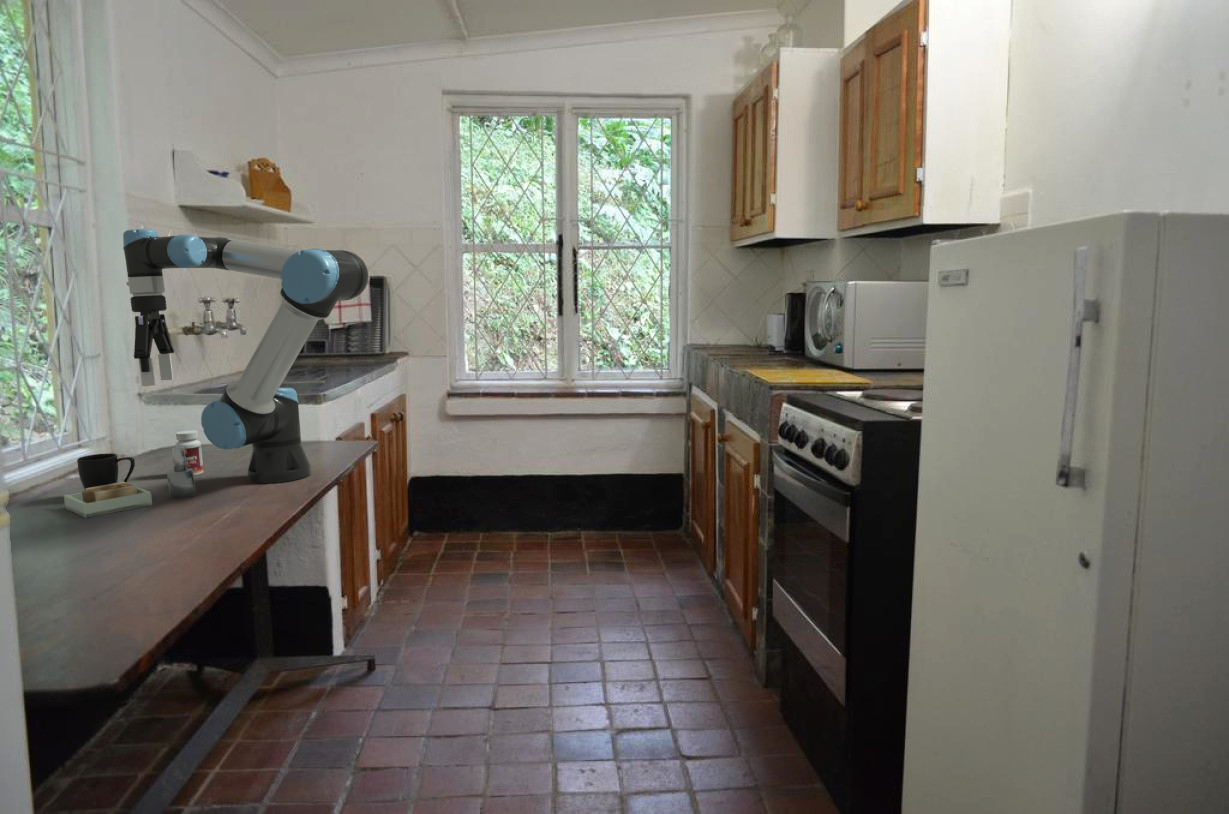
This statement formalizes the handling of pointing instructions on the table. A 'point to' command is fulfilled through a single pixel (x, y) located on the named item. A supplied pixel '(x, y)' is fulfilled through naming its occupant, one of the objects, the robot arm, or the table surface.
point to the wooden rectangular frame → (108, 492)
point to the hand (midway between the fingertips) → (158, 382)
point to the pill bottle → (191, 450)
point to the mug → (101, 469)
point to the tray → (107, 503)
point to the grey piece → (180, 476)
